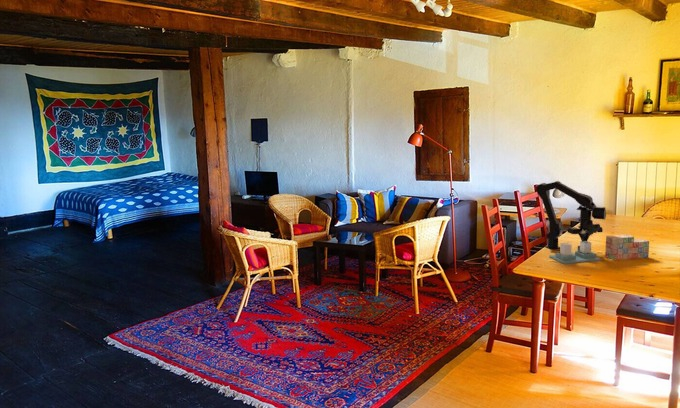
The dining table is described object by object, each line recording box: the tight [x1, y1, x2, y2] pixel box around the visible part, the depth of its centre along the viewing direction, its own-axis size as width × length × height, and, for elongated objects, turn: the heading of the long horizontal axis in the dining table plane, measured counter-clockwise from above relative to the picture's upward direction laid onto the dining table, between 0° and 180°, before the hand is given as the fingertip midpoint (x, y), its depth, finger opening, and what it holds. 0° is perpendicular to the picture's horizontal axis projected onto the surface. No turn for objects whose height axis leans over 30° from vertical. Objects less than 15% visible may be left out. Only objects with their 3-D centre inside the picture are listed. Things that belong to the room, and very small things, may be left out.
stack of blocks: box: [604, 234, 650, 261], centre depth 294 cm, size 21×6×12 cm, turn 96°
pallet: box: [548, 242, 602, 265], centre depth 295 cm, size 14×22×9 cm, turn 100°
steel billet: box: [579, 240, 592, 254], centre depth 296 cm, size 4×4×8 cm
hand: (584, 244), depth 309 cm, fingers closed, pressing on start button
